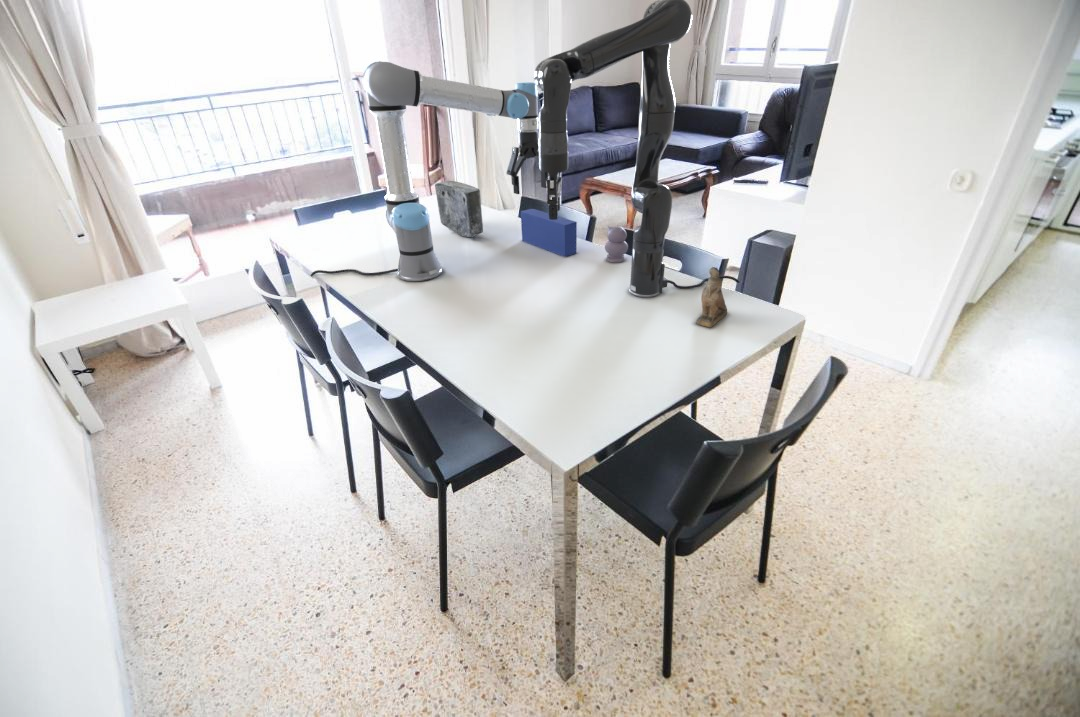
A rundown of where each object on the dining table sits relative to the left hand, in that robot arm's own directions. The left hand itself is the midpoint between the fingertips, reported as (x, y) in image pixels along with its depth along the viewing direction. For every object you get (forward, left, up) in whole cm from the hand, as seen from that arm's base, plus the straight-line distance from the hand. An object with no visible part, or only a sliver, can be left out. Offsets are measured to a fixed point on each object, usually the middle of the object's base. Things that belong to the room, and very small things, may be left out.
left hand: (530, 190), depth 192 cm
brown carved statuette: (+74, -50, -20) cm, 92 cm away
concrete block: (-32, +1, -20) cm, 38 cm away
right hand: (+30, -56, +8) cm, 64 cm away
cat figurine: (+38, -12, -20) cm, 44 cm away
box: (+9, -5, -20) cm, 22 cm away
